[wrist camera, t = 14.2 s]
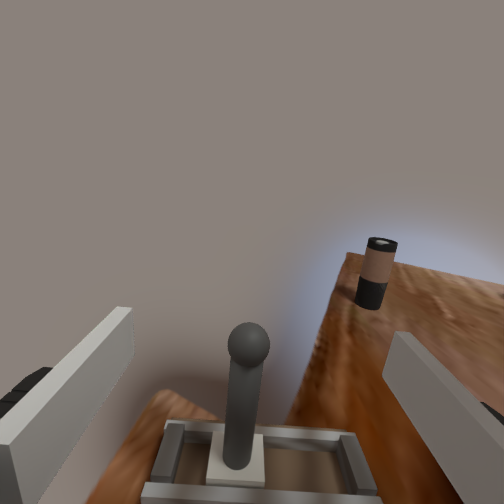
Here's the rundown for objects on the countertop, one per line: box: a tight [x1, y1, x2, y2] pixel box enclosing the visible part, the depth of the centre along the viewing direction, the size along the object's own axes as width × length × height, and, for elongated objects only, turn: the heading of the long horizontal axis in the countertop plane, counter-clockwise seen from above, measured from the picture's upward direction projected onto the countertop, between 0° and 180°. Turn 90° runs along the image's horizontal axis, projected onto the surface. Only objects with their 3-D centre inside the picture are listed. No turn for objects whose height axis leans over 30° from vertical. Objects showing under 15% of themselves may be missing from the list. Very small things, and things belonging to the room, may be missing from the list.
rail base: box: [141, 418, 383, 504], centre depth 29 cm, size 24×12×4 cm, turn 90°
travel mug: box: [355, 237, 398, 310], centre depth 74 cm, size 8×8×20 cm
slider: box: [206, 322, 270, 489], centre depth 26 cm, size 6×5×19 cm
